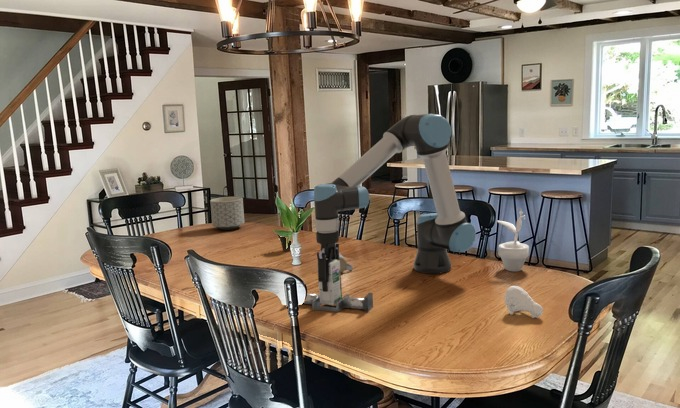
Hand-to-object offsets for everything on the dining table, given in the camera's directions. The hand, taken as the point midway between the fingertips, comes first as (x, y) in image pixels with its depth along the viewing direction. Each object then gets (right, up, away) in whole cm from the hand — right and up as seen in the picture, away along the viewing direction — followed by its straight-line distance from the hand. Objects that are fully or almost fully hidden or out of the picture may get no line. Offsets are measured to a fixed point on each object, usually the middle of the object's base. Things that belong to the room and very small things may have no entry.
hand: (330, 296), depth 183 cm
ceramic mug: (+3, +3, +42) cm, 42 cm away
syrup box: (0, -2, 0) cm, 2 cm away
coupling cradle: (0, -3, +1) cm, 3 cm away
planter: (-64, +17, +140) cm, 155 cm away
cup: (-23, +9, +80) cm, 83 cm away
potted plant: (+72, +5, +32) cm, 79 cm away
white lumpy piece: (+61, -3, -15) cm, 63 cm away
